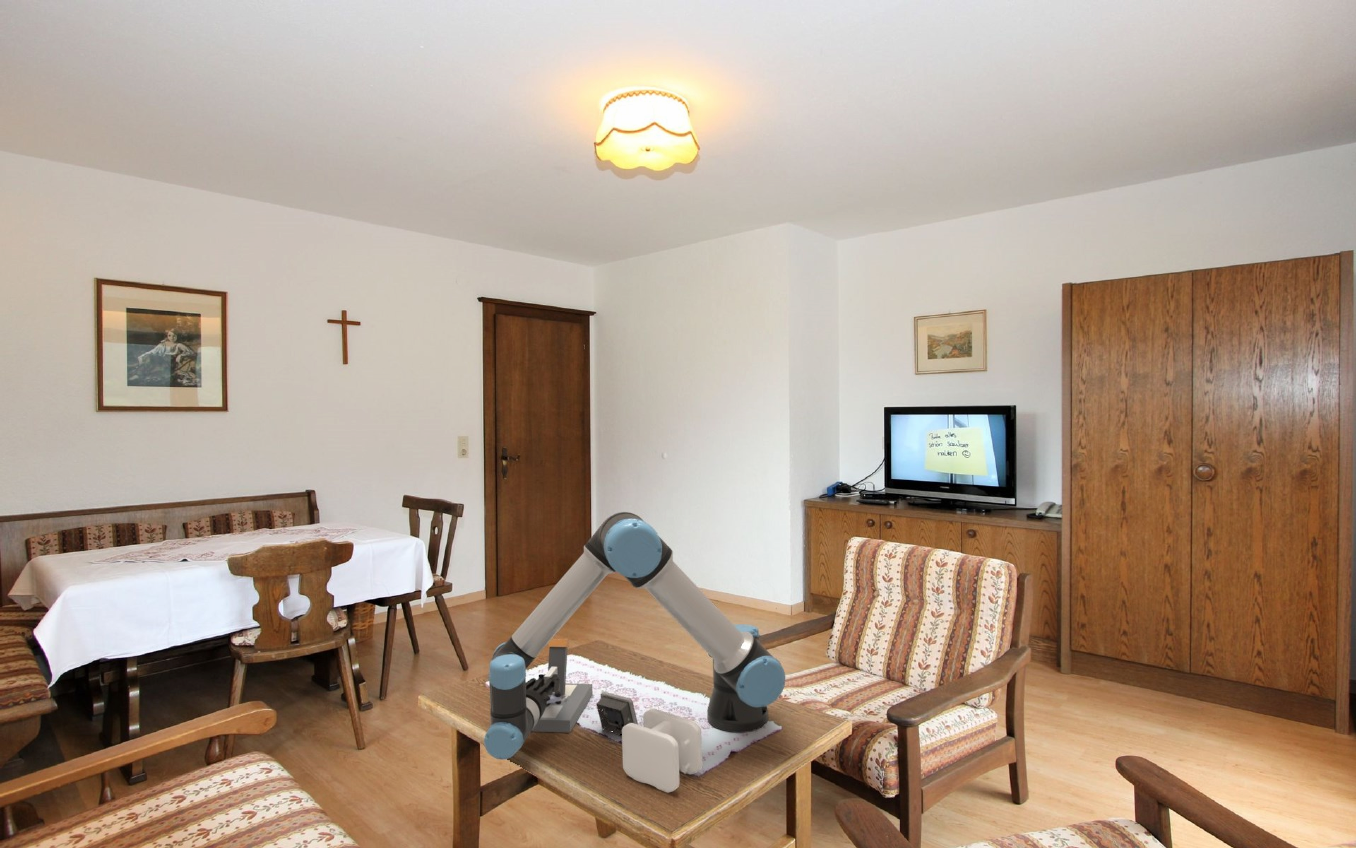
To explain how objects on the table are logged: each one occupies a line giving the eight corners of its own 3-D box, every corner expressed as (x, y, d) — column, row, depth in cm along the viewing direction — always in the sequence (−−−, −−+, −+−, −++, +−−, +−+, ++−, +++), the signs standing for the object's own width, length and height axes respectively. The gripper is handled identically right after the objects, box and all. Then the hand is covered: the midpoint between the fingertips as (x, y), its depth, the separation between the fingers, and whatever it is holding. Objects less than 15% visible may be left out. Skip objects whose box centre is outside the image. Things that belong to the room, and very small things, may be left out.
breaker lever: (563, 695, 181) (566, 639, 185) (545, 695, 181) (548, 638, 186) (565, 695, 183) (569, 639, 187) (548, 694, 184) (551, 638, 188)
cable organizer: (619, 776, 150) (617, 722, 150) (650, 755, 158) (649, 704, 158) (675, 798, 141) (673, 741, 141) (705, 775, 149) (703, 721, 149)
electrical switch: (640, 731, 170) (636, 695, 169) (627, 743, 166) (623, 705, 164) (609, 723, 175) (605, 688, 174) (596, 733, 171) (592, 697, 170)
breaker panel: (570, 732, 170) (569, 716, 170) (514, 731, 172) (514, 714, 172) (592, 694, 192) (592, 680, 192) (543, 693, 194) (542, 679, 194)
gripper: (551, 696, 158) (578, 658, 182) (496, 695, 160) (529, 657, 183) (553, 729, 158) (579, 686, 182) (497, 727, 160) (530, 685, 183)
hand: (554, 672), depth 182 cm, fingers closed
